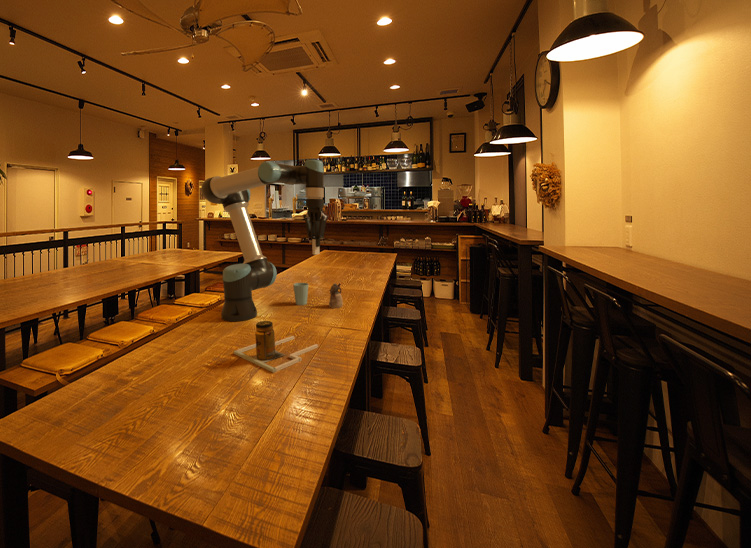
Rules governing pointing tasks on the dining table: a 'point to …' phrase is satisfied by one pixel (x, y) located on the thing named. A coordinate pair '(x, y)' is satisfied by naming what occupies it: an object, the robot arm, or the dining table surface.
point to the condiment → (265, 342)
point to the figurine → (335, 296)
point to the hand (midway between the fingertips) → (316, 254)
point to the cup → (301, 293)
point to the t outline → (293, 355)
